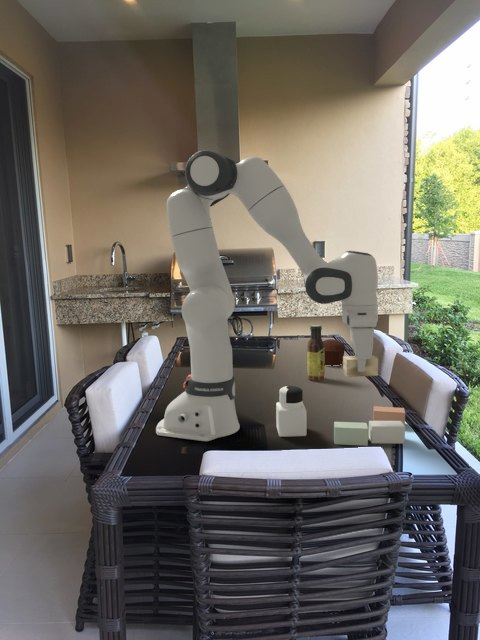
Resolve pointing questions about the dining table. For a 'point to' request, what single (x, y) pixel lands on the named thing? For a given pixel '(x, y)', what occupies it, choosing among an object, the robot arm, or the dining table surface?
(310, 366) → the sauce bottle
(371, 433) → the grey block
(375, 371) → the maple block
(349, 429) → the sage block
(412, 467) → the dining table surface
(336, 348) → the muffin
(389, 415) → the terracotta block
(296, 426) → the medicine bottle
